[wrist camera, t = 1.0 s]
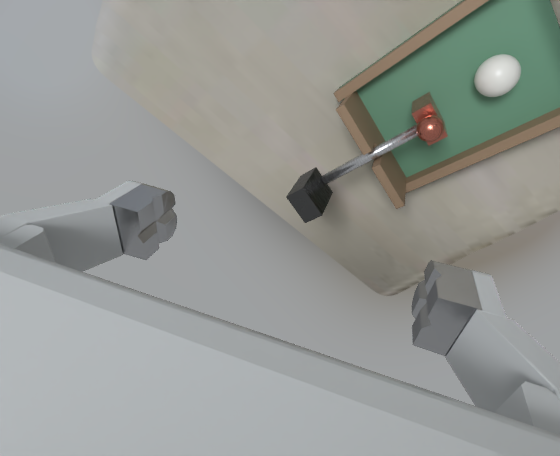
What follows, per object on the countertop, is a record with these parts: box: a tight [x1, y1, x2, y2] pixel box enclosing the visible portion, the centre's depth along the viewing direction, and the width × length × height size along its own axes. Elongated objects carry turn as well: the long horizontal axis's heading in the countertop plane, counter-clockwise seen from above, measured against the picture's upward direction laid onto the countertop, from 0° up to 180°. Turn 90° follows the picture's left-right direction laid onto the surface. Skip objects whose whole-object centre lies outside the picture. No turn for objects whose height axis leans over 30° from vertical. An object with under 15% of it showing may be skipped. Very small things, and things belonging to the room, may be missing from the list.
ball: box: [474, 54, 521, 97], centre depth 33 cm, size 4×4×4 cm
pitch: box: [334, 0, 560, 209], centre depth 35 cm, size 21×16×10 cm
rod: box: [286, 92, 448, 223], centre depth 38 cm, size 17×4×11 cm, turn 128°
